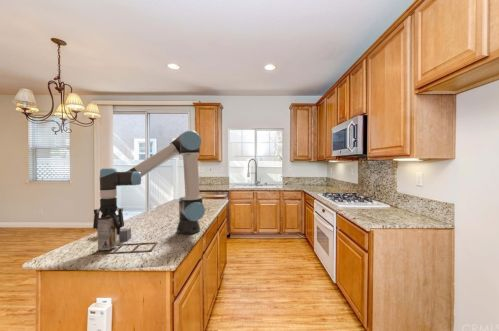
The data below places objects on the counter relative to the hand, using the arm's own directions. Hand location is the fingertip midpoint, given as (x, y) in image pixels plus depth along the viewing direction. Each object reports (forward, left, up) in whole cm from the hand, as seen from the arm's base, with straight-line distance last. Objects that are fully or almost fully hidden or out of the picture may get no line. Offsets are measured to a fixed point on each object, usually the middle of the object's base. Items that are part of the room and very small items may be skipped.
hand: (109, 240), depth 123 cm
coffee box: (0, 0, -3) cm, 3 cm away
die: (-1, -15, -5) cm, 16 cm away
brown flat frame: (-9, 0, -5) cm, 10 cm away
